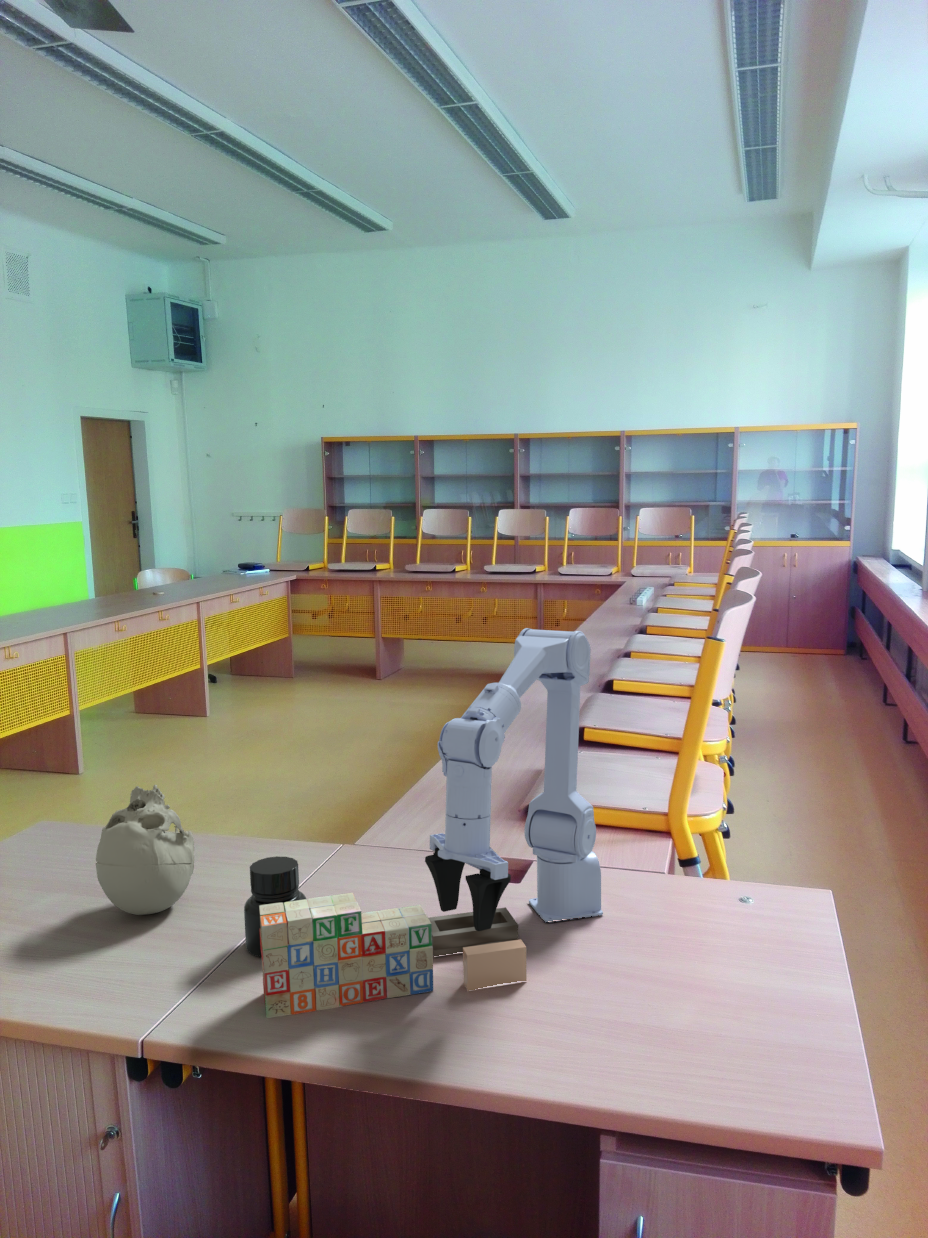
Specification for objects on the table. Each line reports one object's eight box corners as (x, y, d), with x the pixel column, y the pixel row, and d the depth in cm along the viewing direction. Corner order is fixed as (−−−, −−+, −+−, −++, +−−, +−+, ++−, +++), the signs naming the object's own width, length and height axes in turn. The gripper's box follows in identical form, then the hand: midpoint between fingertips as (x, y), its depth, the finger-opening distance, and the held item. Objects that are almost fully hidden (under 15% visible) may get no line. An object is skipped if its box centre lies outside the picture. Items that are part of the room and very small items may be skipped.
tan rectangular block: (521, 975, 121) (520, 939, 120) (526, 983, 119) (526, 947, 118) (463, 983, 119) (462, 947, 118) (467, 992, 117) (467, 955, 116)
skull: (205, 894, 149) (199, 775, 146) (167, 936, 134) (159, 805, 132) (131, 892, 150) (124, 774, 148) (85, 933, 135) (76, 803, 133)
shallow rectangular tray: (505, 926, 135) (505, 907, 135) (519, 945, 129) (518, 925, 129) (424, 937, 132) (423, 917, 132) (434, 958, 126) (433, 937, 125)
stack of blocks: (423, 969, 123) (421, 882, 121) (434, 993, 117) (432, 901, 115) (262, 994, 117) (258, 903, 116) (265, 1020, 111) (260, 924, 110)
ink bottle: (293, 964, 125) (289, 880, 123) (234, 959, 127) (229, 876, 125) (318, 932, 134) (315, 854, 133) (263, 928, 136) (259, 851, 135)
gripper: (411, 805, 118) (408, 907, 119) (476, 831, 106) (473, 945, 107) (455, 798, 122) (453, 897, 123) (522, 823, 111) (519, 933, 111)
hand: (465, 919), depth 115 cm, fingers open, 7 cm apart
